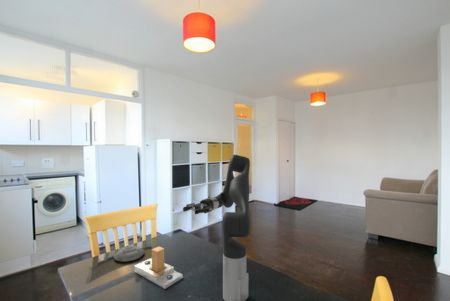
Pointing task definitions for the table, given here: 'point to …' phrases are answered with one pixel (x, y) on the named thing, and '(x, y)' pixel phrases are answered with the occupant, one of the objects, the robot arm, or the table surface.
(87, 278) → the table surface
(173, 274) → the white peg board
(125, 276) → the table surface
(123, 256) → the flying saucer
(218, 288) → the table surface
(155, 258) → the pin
